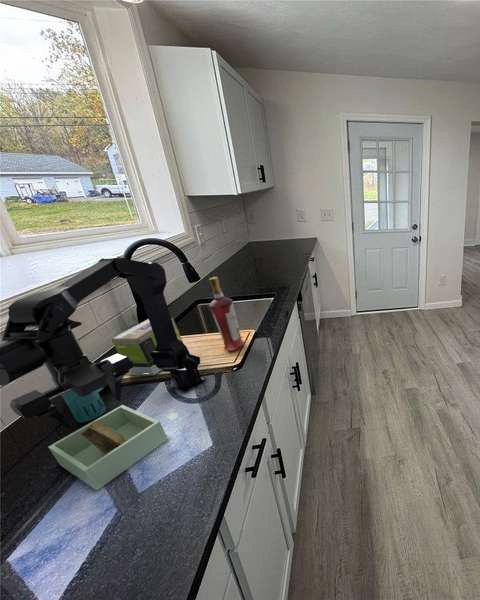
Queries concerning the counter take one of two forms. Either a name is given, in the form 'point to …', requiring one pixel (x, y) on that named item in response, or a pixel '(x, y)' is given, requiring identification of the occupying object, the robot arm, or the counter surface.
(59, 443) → the shallow rectangular tray
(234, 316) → the liquor
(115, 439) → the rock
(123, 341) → the tea box
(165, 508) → the counter surface
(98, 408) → the beverage bottle
